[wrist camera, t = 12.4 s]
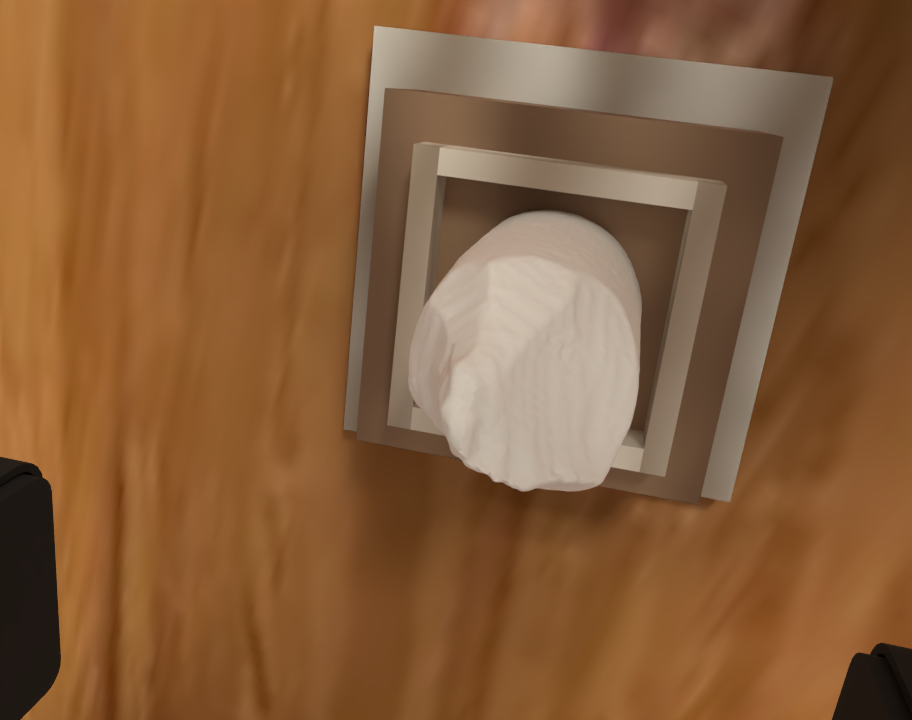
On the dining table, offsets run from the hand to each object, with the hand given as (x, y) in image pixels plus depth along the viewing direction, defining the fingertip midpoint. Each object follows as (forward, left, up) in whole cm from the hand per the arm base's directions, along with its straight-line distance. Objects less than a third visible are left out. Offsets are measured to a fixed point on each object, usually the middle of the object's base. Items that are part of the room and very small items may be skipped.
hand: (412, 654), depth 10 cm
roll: (0, 0, -19) cm, 19 cm away
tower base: (0, 0, -25) cm, 25 cm away
